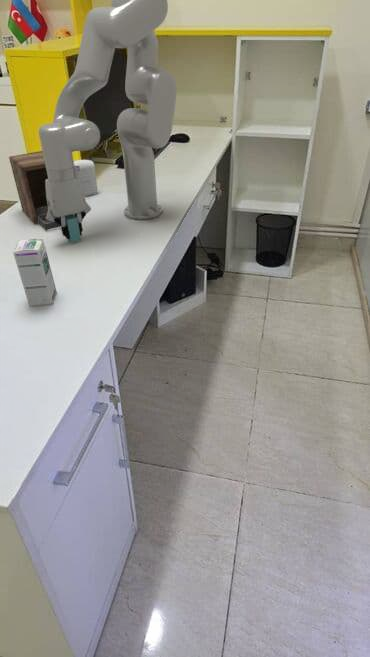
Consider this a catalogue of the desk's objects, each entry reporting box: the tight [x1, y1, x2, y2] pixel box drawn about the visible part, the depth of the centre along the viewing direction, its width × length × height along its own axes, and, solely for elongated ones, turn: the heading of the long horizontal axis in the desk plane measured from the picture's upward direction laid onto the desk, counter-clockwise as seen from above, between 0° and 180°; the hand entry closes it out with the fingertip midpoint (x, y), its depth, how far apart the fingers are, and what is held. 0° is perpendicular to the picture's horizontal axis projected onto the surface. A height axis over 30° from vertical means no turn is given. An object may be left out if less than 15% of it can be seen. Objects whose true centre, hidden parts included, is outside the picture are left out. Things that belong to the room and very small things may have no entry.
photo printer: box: [74, 159, 99, 197], centre depth 160 cm, size 10×4×12 cm, turn 123°
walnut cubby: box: [8, 150, 48, 226], centre depth 146 cm, size 14×13×18 cm
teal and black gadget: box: [36, 213, 82, 244], centre depth 137 cm, size 21×10×7 cm, turn 32°
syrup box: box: [12, 238, 57, 306], centre depth 104 cm, size 6×6×14 cm
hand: (73, 235), depth 133 cm, fingers closed on teal and black gadget, 3 cm apart
